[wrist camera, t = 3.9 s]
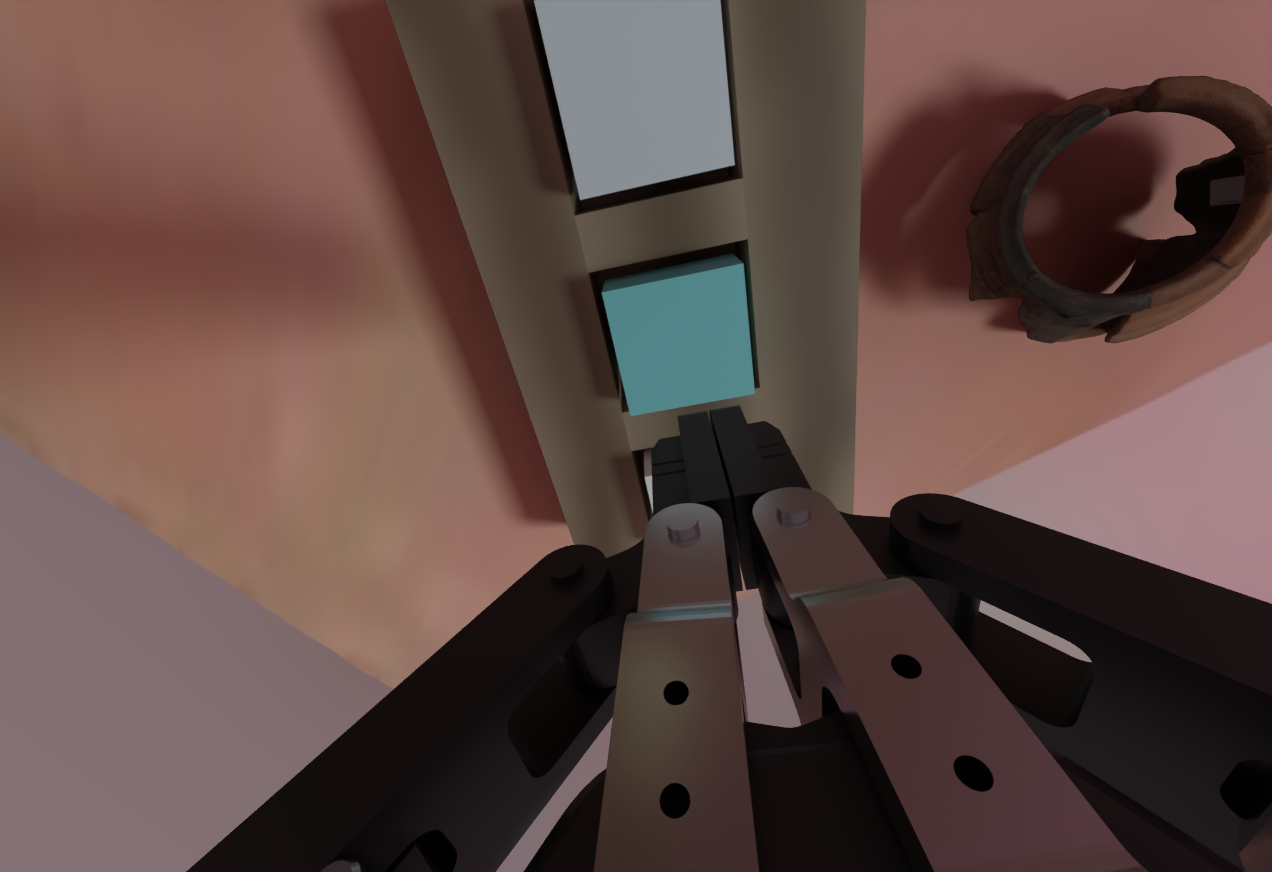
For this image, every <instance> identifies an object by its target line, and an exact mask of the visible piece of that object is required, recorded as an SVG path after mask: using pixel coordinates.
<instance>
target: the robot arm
mask: <svg viewBox="0 0 1272 872" xmlns="http://www.w3.org/2000/svg"><path fill="white" fill-rule="evenodd" d="M709 416H710V420H709V417H708V413H707V411H702V412H696V413H690V414H685V415H679V416H677V417H678V424H679V431H680V436H674V437H668V438H662V439H659V440H658V442H657V443H656V445H655V446H654V448H653V449H652V451H651V465H652V495H653V517H652V518H651V519H650V521H649V522H648V524H647V526H646V530H645V537H644V538H643V539H642V540H641V541H640V542H639V543H637V544H636V545H634V546H633V547H631V548H629V549H627V550H625V551H623V552H620V553H618V554H615V555H613V556H610V557H608V558H606V557H605V555H604V554H603V553H602V552H601V551H600V550H599V549H597V548H595V547H593V546H590V545H581V544H577V545H570V546H566V547H563V548H560V549H557V550H555V551H553V552H551V553H550V554H548V555H547V556H545V557H544V558H543V559H541V560H540V561H539V562H538V563H537V564H536V565H535V566H534V567H532V568H531V569H530V570H529V571H528V572H527V573H526V574H524V575H523V576H522V577H521V578H520V579H519V580H518V581H516V582H515V583H514V584H513V585H512V586H511V587H510V588H508V589H507V590H506V591H505V592H504V593H503V594H502V595H501V596H499V597H498V598H497V599H496V600H495V601H494V602H493V603H491V604H490V605H489V606H488V607H487V608H486V609H485V610H483V611H482V612H481V613H480V614H479V615H478V616H477V617H475V618H474V619H473V620H472V621H471V622H470V623H469V624H468V625H466V626H465V627H464V628H463V629H462V630H461V631H460V632H458V633H457V634H456V635H455V636H454V637H453V638H452V639H450V640H449V641H448V642H447V643H446V644H445V645H444V646H443V647H441V648H440V649H439V650H438V651H437V652H436V653H435V654H433V655H432V656H431V657H430V658H429V659H428V660H427V661H425V662H424V663H423V664H422V665H421V666H420V667H419V668H417V669H416V670H415V671H414V672H413V673H412V674H411V675H410V676H408V677H407V678H406V679H405V680H404V681H403V682H402V683H400V684H399V685H398V686H397V687H396V688H395V689H394V690H392V691H391V692H390V693H389V694H388V695H387V696H386V697H384V698H383V699H382V700H381V701H380V702H379V703H378V704H377V705H375V706H374V707H373V708H372V709H371V710H370V711H369V712H367V713H366V714H365V715H364V716H363V717H362V718H361V719H359V720H358V721H357V722H356V723H355V724H354V725H353V726H352V727H351V728H349V729H348V730H347V731H346V732H345V733H344V734H342V735H341V736H340V737H339V738H338V739H337V740H336V741H334V742H333V743H332V744H331V745H330V746H329V747H328V748H327V749H325V750H324V751H323V752H322V753H321V754H320V755H318V756H317V757H316V758H315V759H314V760H313V761H312V762H311V763H309V764H308V765H307V766H306V767H305V768H304V769H303V770H302V771H300V772H299V773H298V774H297V775H296V776H295V777H293V778H292V779H291V780H290V781H289V782H288V783H287V784H285V785H284V786H283V787H282V788H281V789H280V790H279V791H278V792H276V793H275V794H274V795H273V796H272V797H271V798H270V799H268V800H267V801H266V802H265V803H264V804H263V805H262V806H260V807H259V808H258V809H257V810H256V811H255V812H254V813H252V814H251V815H250V816H249V817H248V818H247V819H246V820H245V821H243V822H242V823H241V824H240V825H239V826H238V827H237V828H235V829H234V830H233V831H232V832H231V833H230V834H229V835H227V836H226V837H225V838H224V839H223V840H222V841H221V842H219V843H218V844H217V845H216V846H215V847H214V848H213V849H212V850H210V851H209V852H208V853H207V854H206V855H205V856H204V857H202V858H201V859H200V860H199V861H198V862H197V863H196V864H194V865H193V866H192V867H191V868H190V869H189V870H188V871H186V872H496V871H497V869H498V868H499V867H500V865H501V864H502V863H503V861H504V860H505V858H506V857H507V856H508V854H509V853H510V852H511V851H512V849H513V848H514V847H515V845H516V844H517V843H518V841H519V840H520V839H521V837H522V836H523V835H524V833H525V832H526V831H527V829H528V828H529V826H530V825H531V824H532V823H533V821H534V820H535V819H536V818H537V816H538V815H539V814H540V812H541V811H542V810H543V808H544V807H545V806H546V804H547V803H548V802H549V800H550V799H551V798H552V796H553V795H554V794H555V792H556V791H557V790H558V788H559V787H560V786H561V784H562V783H563V782H564V780H565V779H566V778H567V776H568V775H569V774H570V772H571V771H572V770H573V768H574V767H575V766H576V765H577V763H578V762H579V760H580V759H581V758H582V757H583V755H584V754H585V753H586V751H587V750H588V749H589V747H590V746H591V745H592V743H593V742H594V741H595V739H596V738H597V737H598V735H599V734H600V733H601V731H602V730H603V729H604V727H605V726H606V725H607V723H608V722H609V721H610V719H611V718H612V717H613V721H612V728H611V736H610V744H609V753H608V761H607V768H606V769H605V770H604V771H602V772H601V773H600V774H598V775H597V776H596V777H595V778H594V779H593V780H592V781H591V782H590V783H589V784H588V785H586V786H585V787H584V788H583V790H582V791H581V792H580V793H579V794H578V795H577V797H576V798H575V799H574V800H573V801H572V802H571V804H570V805H569V806H568V808H567V809H566V810H565V812H564V813H563V815H562V816H561V818H560V819H559V820H558V822H557V823H556V825H555V826H554V828H553V829H552V831H551V832H550V834H549V835H548V836H547V838H546V839H545V841H544V843H543V844H542V845H541V847H540V848H539V850H538V851H537V853H536V854H535V856H534V857H533V859H532V860H531V862H530V863H529V865H528V866H527V868H526V869H525V871H524V872H1272V604H1270V603H1268V602H1265V601H1261V600H1259V599H1256V598H1253V597H1250V596H1247V595H1244V594H1241V593H1238V592H1235V591H1232V590H1229V589H1226V588H1223V587H1220V586H1217V585H1214V584H1211V583H1209V582H1205V581H1202V580H1200V579H1197V578H1194V577H1191V576H1188V575H1185V574H1182V573H1179V572H1176V571H1173V570H1170V569H1167V568H1164V567H1161V566H1158V565H1155V564H1152V563H1149V562H1147V561H1143V560H1141V559H1138V558H1135V557H1132V556H1129V555H1126V554H1123V553H1120V552H1117V551H1114V550H1111V549H1108V548H1105V547H1102V546H1099V545H1096V544H1093V543H1090V542H1087V541H1084V540H1082V539H1079V538H1076V537H1072V536H1070V535H1067V534H1063V533H1061V532H1058V531H1055V530H1052V529H1049V528H1046V527H1043V526H1040V525H1037V524H1034V523H1031V522H1028V521H1025V520H1022V519H1019V518H1016V517H1013V516H1011V515H1008V514H1005V513H1002V512H999V511H995V510H993V509H990V508H987V507H984V506H981V505H978V504H975V503H972V502H969V501H966V500H963V499H960V498H957V497H953V496H949V495H944V494H930V493H926V494H917V495H912V496H908V497H905V498H903V499H901V500H900V501H898V502H897V503H896V504H895V505H894V506H893V507H892V510H891V513H890V517H875V516H861V515H853V514H848V513H844V512H841V511H838V510H837V508H836V507H835V506H834V504H833V503H832V502H831V501H830V499H828V498H827V497H826V496H825V495H823V494H821V493H819V492H817V491H814V490H812V489H811V487H810V485H809V483H808V481H807V479H806V478H805V476H804V474H803V472H802V470H801V468H800V466H799V464H798V463H797V461H796V459H795V457H794V455H792V451H791V450H790V448H789V446H788V444H787V443H786V440H785V438H784V437H783V435H782V433H781V431H780V430H779V429H778V428H776V427H774V426H773V425H771V424H770V423H768V422H766V421H761V422H755V423H750V424H747V421H746V419H745V417H744V414H743V412H742V409H741V407H740V405H735V406H730V407H724V408H718V409H713V410H709ZM739 563H740V565H739ZM740 567H741V571H742V575H743V579H744V583H745V587H746V590H749V589H756V588H758V589H759V593H760V596H761V599H762V606H763V615H764V622H765V626H766V628H767V631H768V634H769V636H770V639H771V642H772V645H773V647H774V650H775V653H776V655H777V658H778V661H779V664H780V666H781V669H782V671H783V674H784V677H785V680H786V682H787V685H788V688H789V691H790V693H791V696H792V699H793V701H794V704H795V707H796V710H797V713H798V716H799V719H800V723H801V726H799V727H794V728H784V727H778V726H771V725H764V724H758V723H751V722H749V721H748V713H747V705H746V696H745V687H744V679H743V671H742V662H741V654H740V646H739V637H738V629H737V622H736V620H737V617H738V605H737V598H736V591H743V588H742V580H741V573H740ZM981 600H982V601H984V602H986V603H989V604H991V605H993V606H995V607H997V608H999V609H1001V610H1003V611H1006V612H1008V613H1010V614H1012V615H1014V616H1016V617H1018V618H1020V619H1023V620H1025V621H1027V622H1029V623H1031V624H1033V625H1035V626H1038V627H1040V628H1042V629H1044V630H1046V631H1048V632H1050V633H1052V634H1055V635H1057V636H1059V637H1061V638H1063V639H1065V640H1067V641H1069V642H1071V643H1072V644H1074V645H1076V646H1077V647H1078V648H1080V649H1081V650H1082V651H1083V652H1084V653H1085V654H1086V655H1087V656H1088V657H1089V658H1090V659H1091V661H1092V662H1086V661H1082V660H1079V659H1076V658H1074V657H1071V656H1070V655H1067V654H1066V653H1064V652H1062V651H1059V650H1057V649H1055V648H1053V647H1051V646H1049V645H1047V644H1045V643H1043V642H1041V641H1039V640H1037V639H1035V638H1033V637H1031V636H1028V635H1027V634H1024V633H1022V632H1020V631H1018V630H1016V629H1014V628H1012V627H1010V626H1008V625H1006V624H1004V623H1002V622H1000V621H998V620H996V619H993V618H991V617H989V616H987V615H985V614H983V613H981V612H979V606H980V601H981ZM1243 870H1244V871H1243Z"/></svg>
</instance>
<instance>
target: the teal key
mask: <svg viewBox="0 0 1272 872" xmlns="http://www.w3.org/2000/svg"><path fill="white" fill-rule="evenodd" d="M602 296H603V300H604V305H605V309H606V313H607V318H608V322H609V326H610V330H611V335H612V339H613V343H614V348H615V352H616V356H617V361H618V365H619V369H620V374H621V378H622V382H623V386H624V391H625V395H626V399H627V404H628V408H629V412H630V416H635V415H641V414H646V413H652V412H657V411H663V410H669V409H674V408H680V407H685V406H691V405H696V404H702V403H708V402H713V401H719V400H724V399H730V398H735V397H741V396H746V395H752V394H755V389H754V378H753V366H752V355H751V343H750V332H749V321H748V309H747V298H746V286H745V275H744V264H743V262H741V261H740V260H739V259H738V258H737V257H736V256H735V255H734V254H733V253H731V254H726V255H722V256H717V257H712V258H707V259H702V260H698V261H693V262H688V263H683V264H678V265H674V266H669V267H664V268H659V269H655V270H650V271H645V272H640V273H635V274H631V275H626V276H621V277H616V278H611V279H607V280H605V282H604V286H603V290H602Z"/></svg>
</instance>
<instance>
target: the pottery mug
mask: <svg viewBox="0 0 1272 872" xmlns="http://www.w3.org/2000/svg"><path fill="white" fill-rule="evenodd" d="M1131 111H1141V112H1173V113H1180V114H1185V115H1190V116H1193V117H1196V118H1199V119H1202V120H1204V121H1206V122H1208V123H1210V124H1212V125H1214V126H1215V127H1217V128H1218V129H1220V130H1221V131H1222V132H1223V133H1224V134H1225V135H1226V136H1227V137H1228V138H1229V139H1230V140H1231V141H1232V142H1233V144H1234V145H1235V148H1234V149H1233V150H1232V151H1230V152H1229V153H1228V154H1223V155H1221V156H1219V157H1215V158H1210V159H1206V160H1204V161H1203V162H1201V163H1200V164H1199V165H1195V166H1191V167H1187V168H1184V169H1183V170H1181V171H1180V172H1179V173H1178V174H1177V175H1176V190H1177V192H1176V198H1175V202H1174V209H1175V211H1176V212H1177V213H1179V214H1181V215H1182V216H1183V217H1184V218H1185V219H1186V220H1187V221H1188V222H1190V223H1191V224H1192V225H1193V226H1194V227H1195V229H1196V233H1195V234H1193V235H1186V236H1175V237H1171V238H1169V239H1167V240H1165V239H1156V240H1146V241H1143V242H1142V243H1141V244H1140V247H1139V251H1138V254H1137V258H1136V261H1135V263H1134V265H1133V267H1132V269H1131V271H1130V273H1129V275H1128V276H1127V277H1126V279H1125V280H1124V281H1123V283H1122V284H1121V285H1120V286H1119V287H1118V288H1117V289H1116V290H1115V292H1114V293H1112V294H1098V293H1088V292H1083V291H1079V290H1075V289H1072V288H1069V287H1067V286H1064V285H1061V284H1059V283H1057V282H1055V281H1054V280H1052V279H1051V278H1049V277H1047V276H1045V275H1043V274H1042V273H1041V272H1040V270H1039V269H1038V268H1037V266H1036V265H1035V264H1034V262H1033V261H1032V259H1031V256H1030V254H1029V252H1028V250H1027V248H1026V245H1025V243H1024V237H1023V231H1022V223H1023V213H1024V209H1025V206H1026V202H1027V199H1028V196H1029V194H1030V192H1031V190H1032V188H1033V186H1034V184H1035V182H1036V181H1037V179H1038V177H1039V176H1040V174H1041V173H1042V171H1043V170H1044V169H1045V167H1046V166H1047V164H1048V163H1049V162H1050V161H1051V160H1052V159H1053V158H1054V157H1055V156H1056V155H1057V154H1058V153H1059V152H1060V151H1061V150H1062V149H1063V148H1064V147H1066V146H1067V145H1068V144H1069V143H1071V142H1072V141H1073V140H1075V139H1076V138H1077V137H1079V136H1080V135H1082V134H1084V133H1086V132H1087V131H1089V130H1090V129H1092V128H1094V127H1095V126H1097V125H1098V124H1100V123H1101V122H1103V121H1104V120H1105V119H1106V118H1107V117H1110V116H1113V115H1116V114H1120V113H1125V112H1131ZM970 212H971V213H972V214H973V215H974V216H976V217H975V219H974V220H973V221H972V222H971V223H970V224H969V225H968V227H967V231H966V234H967V246H968V250H969V257H970V260H971V284H970V286H969V299H970V300H971V301H974V300H977V299H996V298H1005V297H1016V298H1021V299H1022V304H1021V307H1020V309H1019V311H1018V313H1019V317H1020V321H1021V323H1022V324H1023V325H1024V326H1025V327H1026V329H1027V337H1028V338H1029V339H1031V340H1036V341H1040V342H1045V343H1054V342H1065V341H1071V340H1076V339H1082V338H1087V337H1094V336H1099V335H1102V334H1105V333H1108V334H1107V335H1106V337H1105V342H1108V343H1119V342H1124V341H1127V340H1131V339H1135V338H1138V337H1142V336H1144V335H1147V334H1149V333H1152V332H1154V331H1157V330H1159V329H1161V328H1163V327H1165V326H1167V325H1169V324H1172V323H1174V322H1176V321H1178V320H1180V319H1182V318H1183V317H1185V316H1187V315H1189V314H1190V313H1192V312H1194V311H1195V310H1196V309H1198V308H1199V307H1201V306H1203V305H1204V304H1205V303H1207V302H1208V301H1210V300H1211V299H1212V298H1214V297H1215V296H1216V295H1218V294H1219V293H1220V292H1221V291H1223V290H1224V289H1225V288H1226V287H1227V286H1228V285H1229V284H1230V283H1231V281H1233V280H1234V279H1236V278H1237V277H1238V276H1239V275H1240V274H1241V272H1242V271H1243V270H1244V268H1245V266H1246V265H1247V264H1248V262H1249V260H1250V258H1251V257H1252V256H1254V255H1255V254H1256V253H1257V251H1258V250H1259V248H1260V247H1261V245H1262V244H1263V242H1264V241H1265V240H1266V239H1267V238H1268V237H1269V236H1270V234H1271V232H1272V107H1271V106H1270V105H1269V104H1268V103H1267V102H1266V101H1265V100H1264V99H1262V98H1261V97H1260V96H1259V95H1257V94H1255V93H1254V92H1252V91H1251V90H1249V89H1248V88H1246V87H1242V86H1239V85H1236V84H1233V83H1230V82H1228V81H1225V80H1219V79H1214V78H1212V77H1208V76H1178V77H1166V78H1159V79H1157V80H1155V81H1154V82H1153V83H1151V84H1150V85H1144V86H1136V87H1131V88H1127V89H1124V90H1122V89H1116V88H1107V87H1106V88H1101V89H1097V90H1094V91H1091V92H1088V93H1085V94H1082V95H1080V96H1077V97H1074V98H1072V99H1070V100H1068V101H1065V102H1063V103H1061V104H1059V105H1057V106H1055V107H1053V108H1052V109H1050V110H1048V111H1046V112H1044V113H1042V114H1041V115H1039V116H1038V117H1036V118H1034V119H1032V120H1031V121H1029V122H1028V123H1026V124H1025V125H1024V126H1023V127H1022V129H1021V130H1020V131H1019V132H1018V133H1017V134H1016V135H1015V136H1014V137H1013V138H1012V139H1011V141H1010V142H1009V143H1008V144H1007V146H1006V147H1005V148H1004V150H1003V151H1002V152H1001V153H1000V154H999V156H998V157H997V159H996V160H995V161H994V163H993V164H992V165H991V167H990V169H989V170H988V172H987V174H986V175H985V177H984V178H983V180H982V182H981V184H980V187H979V189H978V190H977V192H976V195H975V197H974V198H973V200H972V203H971V205H970Z"/></svg>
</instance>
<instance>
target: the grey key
mask: <svg viewBox="0 0 1272 872" xmlns="http://www.w3.org/2000/svg"><path fill="white" fill-rule="evenodd" d="M534 3H535V7H536V12H537V16H538V20H539V25H540V29H541V33H542V38H543V42H544V46H545V51H546V55H547V59H548V63H549V68H550V72H551V76H552V81H553V85H554V89H555V94H556V98H557V102H558V107H559V111H560V115H561V119H562V124H563V128H564V132H565V137H566V141H567V145H568V150H569V154H570V158H571V163H572V167H573V171H574V175H575V180H576V184H577V188H578V193H579V197H580V200H583V199H587V198H591V197H596V196H600V195H605V194H609V193H613V192H618V191H622V190H627V189H631V188H636V187H640V186H644V185H649V184H653V183H658V182H662V181H666V180H671V179H675V178H680V177H684V176H688V175H693V174H697V173H702V172H706V171H711V170H715V169H719V168H724V167H728V166H733V165H735V161H734V150H733V138H732V127H731V116H730V104H729V93H728V82H727V70H726V59H725V47H724V36H723V25H722V13H721V2H720V0H535V1H534Z"/></svg>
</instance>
